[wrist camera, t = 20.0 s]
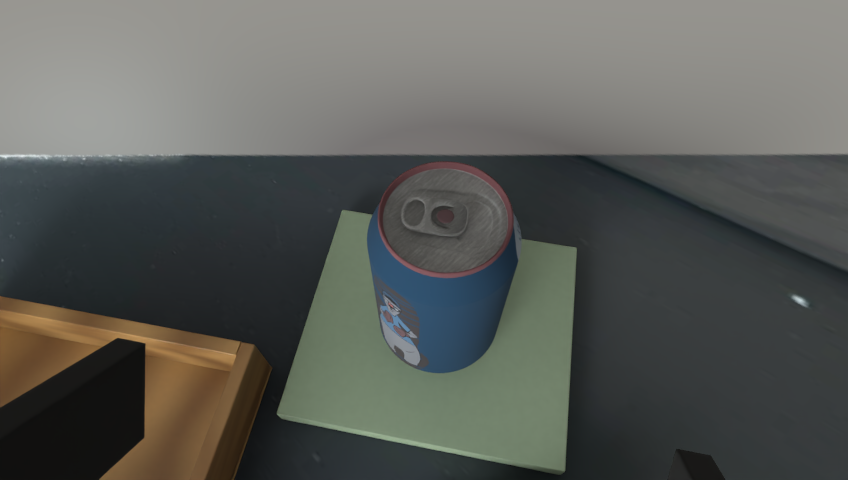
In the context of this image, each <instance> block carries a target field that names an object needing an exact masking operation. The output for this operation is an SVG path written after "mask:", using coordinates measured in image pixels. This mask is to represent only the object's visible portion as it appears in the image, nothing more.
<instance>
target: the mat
mask: <svg viewBox="0 0 848 480" xmlns="http://www.w3.org/2000/svg"><path fill="white" fill-rule="evenodd" d="M371 217H372V215H371V214H365V213H359V212H353V211H347V210H342V213H341V216H340V219H339V222H338V225H337V228H336V231H335V234H334V237H333V240H332V244H331V247H330V250H329V253H328V256H327V259H326V262H325V265H324V268H323V271H322V274H321V278H320V281H319V284H318V287H317V290H316V293H315V296H314V299H313V302H312V305H311V308H310V312H309V315H308V318H307V321H306V324H305V327H304V330H303V333H302V336H301V339H300V342H299V346H298V349H297V352H296V355H295V358H294V361H293V364H292V367H291V370H290V373H289V376H288V380H287V383H286V386H285V389H284V392H283V395H282V398H281V401H280V404H279V407H278V410H277V415H278V416H279V417H280V418H281V419H284V420H289V421H294V422H299V423H304V424H309V425H314V426H319V427H324V428H329V429H334V430H339V431H344V432H349V433H354V434H359V435H364V436H369V437H374V438H379V439H384V440H389V441H394V442H399V443H404V444H409V445H414V446H419V447H423V448H428V449H433V450H438V451H443V452H448V453H453V454H458V455H463V456H468V457H473V458H478V459H483V460H488V461H493V462H498V463H503V464H508V465H513V466H518V467H523V468H528V469H533V470H538V471H543V472H548V473H553V474H558V475H561V474H562V473H564V472H565V465H566V446H567V427H568V408H569V389H570V370H571V351H572V332H573V313H574V294H575V275H576V256H577V248H574V247H568V246H562V245H556V244H550V243H544V242H537V241H531V240H525V239H521V241H522V244H521V253H520V258H519V261H518V264H517V267H516V271H515V274H514V277H513V280H512V283H511V287H510V290H509V293H508V296H507V299H506V303H505V306H504V309H503V312H502V315H501V319H500V322H499V325H498V328H497V332H496V335H495V338H494V340H493V342H492V344H491V346H490V347H489V349H488V350H487V351H486V353H485V354H484V355H483V356H482V357H481V358H480V359H478V360H477V361H476V362H475V363H473V364H471V365H470V366H468V367H466V368H464V369H461V370H458V371H454V372H449V373H430V372H425V371H421V370H418V369H416V368H413V367H411V366H409V365H408V364H406V363H404V362H403V361H402V360H400V359H399V358H398V357H397V356H396V355H395V354H394V353H393V352H392V351H391V349H390V348H389V346H388V345H387V343H386V341H385V339H384V337H383V335H382V331H381V327H380V321H379V315H378V309H377V303H376V297H375V291H374V285H373V279H372V272H371V266H370V260H369V254H368V248H367V232H368V226H369V223H370V220H371Z"/></svg>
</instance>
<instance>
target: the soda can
mask: <svg viewBox="0 0 848 480" xmlns="http://www.w3.org/2000/svg"><path fill="white" fill-rule="evenodd" d="M521 244H522V241H521V231H520V227H519V224H518V221H517V219H516V216H515V214H514V213H513V209H512V205H511V202H510V200H509V198H508V196H507V194H506V193H505V191H504V190H503V188H502V187H501V186H500V185H499V184H498V183H497V182H496V181H495V180H494V179H493V178H492V177H491V176H489V175H488V174H487V173H485V172H484V171H482V170H480V169H478V168H476V167H473V166H471V165H467V164H463V163H458V162H446V161H443V162H431V163H426V164H422V165H419V166H416V167H414V168H412V169H410V170H408V171H406V172H404V173H403V174H401V175H400V176H399V177H397V178H396V179H395V180H394V181H393V182H392V183H391V184H390V185H389V187H388V188H387V189H386V191H385V192H384V194H383V196H382V198H381V201H380V203H379V205H378V206H377V208H376V209H375V211H374V213H373V215H372V217H371V220H370V223H369V226H368V232H367V248H368V254H369V260H370V266H371V272H372V279H373V285H374V291H375V297H376V303H377V309H378V315H379V321H380V327H381V331H382V335H383V337H384V339H385V341H386V343H387V345H388V346H389V348H390V349H391V351H392V352H393V353H394V354H395V355H396V356H397V357H398V358H399V359H400V360H402V361H403V362H404V363H406V364H408V365H409V366H411V367H413V368H416V369H418V370H421V371H425V372H430V373H449V372H454V371H458V370H461V369H464V368H466V367H468V366H470V365H471V364H473V363H475V362H476V361H477V360H478V359H480V358H481V357H482V356H483V355H484V354H485V353H486V351H487V350H488V349H489V347H490V346H491V344H492V342H493V340H494V338H495V335H496V332H497V328H498V325H499V322H500V319H501V315H502V312H503V309H504V306H505V303H506V299H507V296H508V293H509V290H510V287H511V283H512V280H513V277H514V274H515V271H516V267H517V264H518V261H519V258H520V253H521Z"/></svg>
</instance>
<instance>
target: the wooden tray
mask: <svg viewBox="0 0 848 480" xmlns="http://www.w3.org/2000/svg"><path fill="white" fill-rule="evenodd" d="M116 338H122V339H127V340H132V341H137V342H142V343H146V349H145V433H144V438H143V439H142V440H141V441H140V442H139V443H138V444H137V445H136V446H135V447H134V448H133V449H132V450H130V451H129V452H128V453H127V454H126V455H125V456H124V457H123V458H122V459H121V460H120V461H119V462H117V463H116V464H115V465H114V466H113V467H112V468H111V469H110V470H109V471H108V472H107V473H105V474H104V475H103V476H102V477H101V478H100V479H99V480H234V479H235V476H236V473H237V470H238V467H239V464H240V461H241V458H242V455H243V452H244V449H245V447H246V444H247V441H248V438H249V435H250V432H251V429H252V426H253V423H254V420H255V417H256V414H257V411H258V409H259V406H260V403H261V400H262V397H263V394H264V391H265V388H266V385H267V382H268V379H269V376H270V373H271V370H272V366H270V365H269V363H268V362H267V361H266V359H265V358H264V357H263V355H262V354H261V353H260V351H259V350H258V349H257V347H256V346H255V345H254V344H249V343H244V342H242V343H241V342H240V341H235V340H230V339H224V338H219V337H214V336H209V335H203V334H198V333H193V332H187V331H182V330H177V329H172V328H166V327H161V326H156V325H150V324H145V323H140V322H134V321H129V320H124V319H119V318H113V317H108V316H103V315H97V314H92V313H87V312H82V311H76V310H71V309H66V308H60V307H55V306H50V305H45V304H39V303H34V302H29V301H23V300H18V299H13V298H8V297H2V296H0V407H2V406H4V405H5V404H7V403H9V402H10V401H12V400H14V399H16V398H17V397H19V396H21V395H22V394H24V393H26V392H27V391H29V390H31V389H32V388H34V387H36V386H37V385H39V384H41V383H42V382H44V381H46V380H47V379H49V378H51V377H52V376H54V375H56V374H58V373H59V372H61V371H63V370H64V369H66V368H68V367H69V366H71V365H73V364H74V363H76V362H78V361H79V360H81V359H83V358H84V357H86V356H88V355H89V354H91V353H93V352H94V351H96V350H98V349H100V348H101V347H103V346H105V345H106V344H108V343H110V342H111V341H113V340H115V339H116Z"/></svg>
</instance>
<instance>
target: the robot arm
mask: <svg viewBox="0 0 848 480" xmlns="http://www.w3.org/2000/svg"><path fill="white" fill-rule="evenodd" d="M145 349H146V343H142V342H137V341H132V340H127V339H122V338H116V339H115V340H113V341H111V342H110V343H108V344H106V345H105V346H103V347H101V348H100V349H98V350H96V351H94V352H93V353H91V354H89V355H88V356H86V357H84V358H83V359H81V360H79V361H78V362H76V363H74V364H73V365H71V366H69V367H68V368H66V369H64V370H63V371H61V372H59V373H58V374H56V375H54V376H52V377H51V378H49V379H47V380H46V381H44V382H42V383H41V384H39V385H37V386H36V387H34V388H32V389H31V390H29V391H27V392H26V393H24V394H22V395H21V396H19V397H17V398H16V399H14V400H12V401H10V402H9V403H7V404H5V405H4V406H2V407H0V480H99V479H100V478H101V477H102V476H103V475H104V474H105V473H107V472H108V471H109V470H110V469H111V468H112V467H113V466H114V465H115V464H116V463H117V462H119V461H120V460H121V459H122V458H123V457H124V456H125V455H126V454H127V453H128V452H129V451H130V450H132V449H133V448H134V447H135V446H136V445H137V444H138V443H139V442H140V441H141V440H142V439H143V438H144V433H145ZM667 480H725V478H724V477H723V475H722V473H721V472H720V470H719V468H718V467H717V465H716V463H715V462H714V460H713V458H712V457H711V456H710V455H705V454H700V453H695V452H690V451H685V450H680V449H676V452H675V455H674V459H673V462H672V466H671V469H670V472H669V476H668V479H667Z"/></svg>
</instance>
